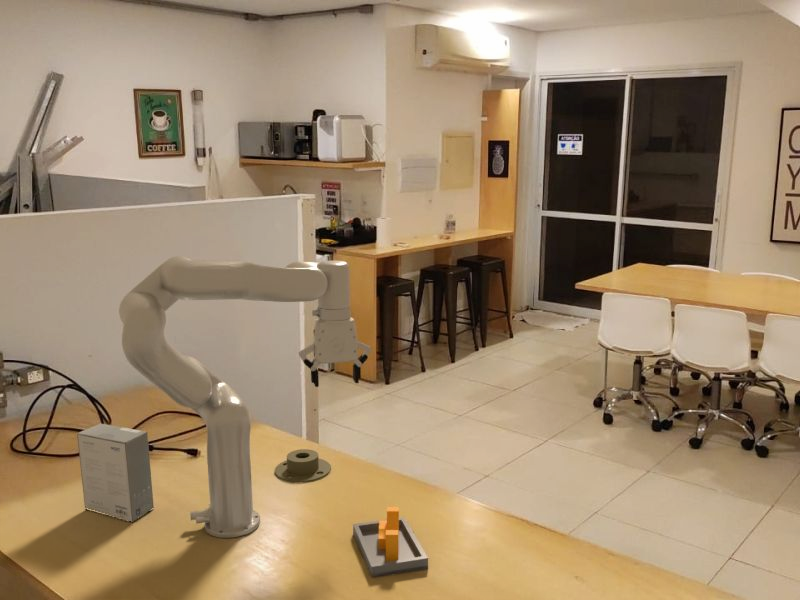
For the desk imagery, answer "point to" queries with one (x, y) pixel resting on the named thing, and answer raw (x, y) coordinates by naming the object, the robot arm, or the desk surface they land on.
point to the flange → (302, 467)
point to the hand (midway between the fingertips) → (336, 383)
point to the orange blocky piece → (390, 534)
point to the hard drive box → (116, 471)
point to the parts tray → (375, 558)
